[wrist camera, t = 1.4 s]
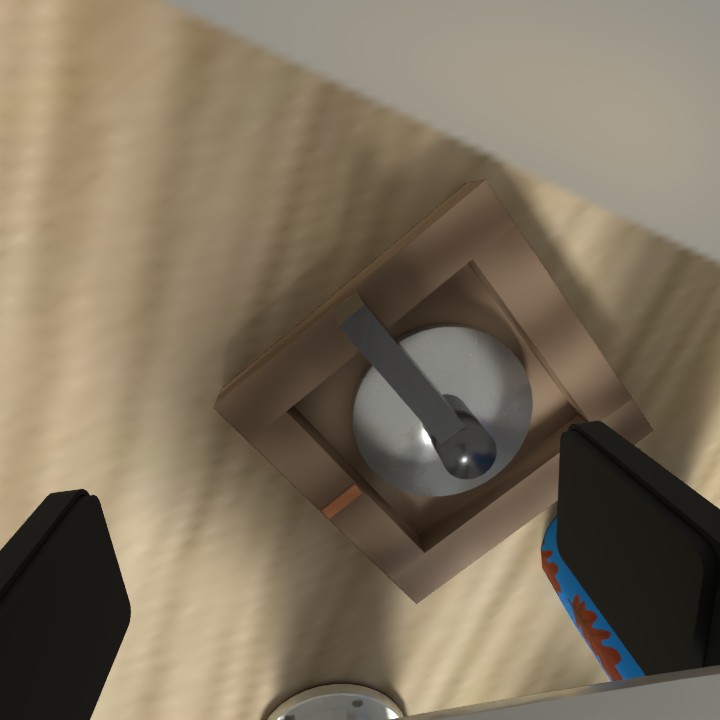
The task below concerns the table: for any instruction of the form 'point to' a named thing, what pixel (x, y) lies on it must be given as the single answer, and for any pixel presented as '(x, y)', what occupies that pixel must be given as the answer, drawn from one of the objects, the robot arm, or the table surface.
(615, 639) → the thermos
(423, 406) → the dial
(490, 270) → the wooden frame
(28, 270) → the table surface
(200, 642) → the table surface
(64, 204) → the table surface
